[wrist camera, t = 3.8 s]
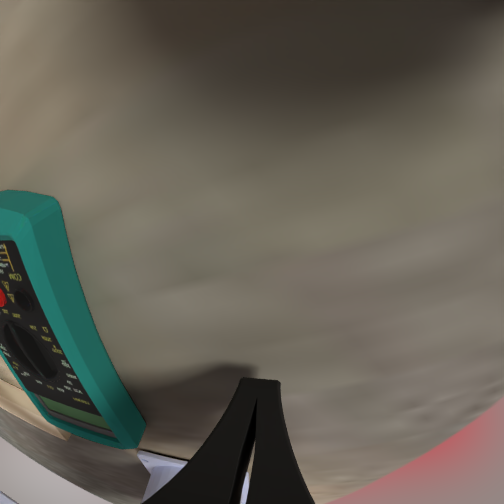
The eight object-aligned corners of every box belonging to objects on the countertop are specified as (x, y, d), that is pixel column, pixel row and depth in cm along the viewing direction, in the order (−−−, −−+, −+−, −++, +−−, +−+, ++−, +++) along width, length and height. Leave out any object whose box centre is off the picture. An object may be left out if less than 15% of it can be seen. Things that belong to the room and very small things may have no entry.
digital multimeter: (63, 177, 10) (9, 205, 7) (152, 422, 17) (137, 460, 14) (-28, 195, 11) (-68, 218, 8) (64, 397, 18) (46, 427, 15)
